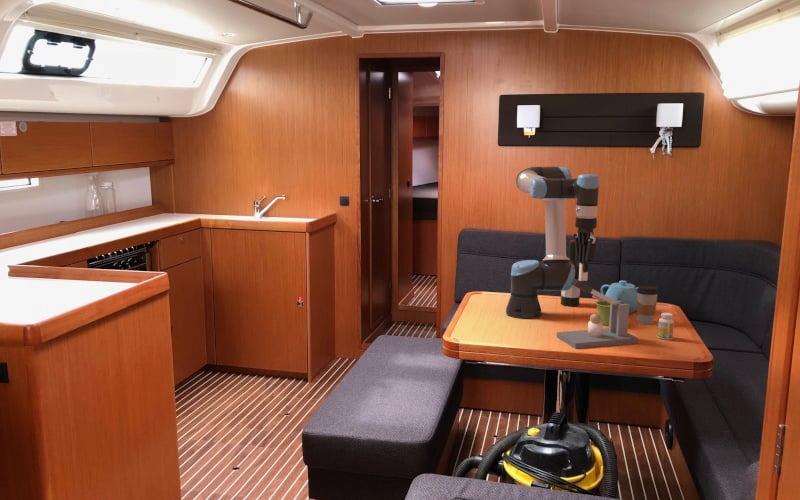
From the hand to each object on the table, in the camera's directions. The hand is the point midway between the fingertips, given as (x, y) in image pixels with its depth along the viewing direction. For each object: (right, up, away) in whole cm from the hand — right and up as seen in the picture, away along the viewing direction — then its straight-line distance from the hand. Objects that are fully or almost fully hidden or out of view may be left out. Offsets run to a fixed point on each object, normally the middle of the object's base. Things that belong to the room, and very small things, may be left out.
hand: (583, 280), depth 238 cm
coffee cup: (+35, -19, +30) cm, 50 cm away
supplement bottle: (+34, -23, +9) cm, 42 cm away
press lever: (+6, -7, +3) cm, 10 cm away
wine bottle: (+11, -14, +59) cm, 61 cm away
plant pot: (+18, -19, +28) cm, 38 cm away
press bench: (+7, -23, +6) cm, 25 cm away
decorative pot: (+31, -16, +49) cm, 60 cm away
